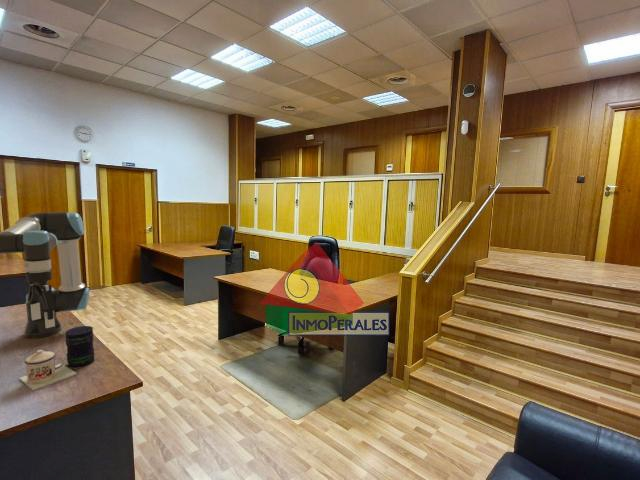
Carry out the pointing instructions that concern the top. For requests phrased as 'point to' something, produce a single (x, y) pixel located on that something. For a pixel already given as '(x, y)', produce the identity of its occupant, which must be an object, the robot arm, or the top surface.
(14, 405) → the top surface
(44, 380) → the teacup with lid
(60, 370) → the coaster
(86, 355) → the dark blue canister
